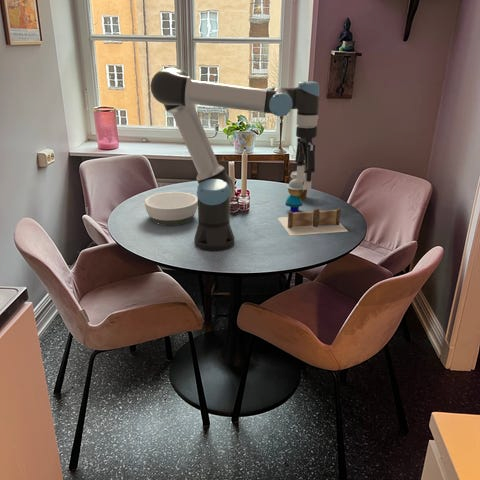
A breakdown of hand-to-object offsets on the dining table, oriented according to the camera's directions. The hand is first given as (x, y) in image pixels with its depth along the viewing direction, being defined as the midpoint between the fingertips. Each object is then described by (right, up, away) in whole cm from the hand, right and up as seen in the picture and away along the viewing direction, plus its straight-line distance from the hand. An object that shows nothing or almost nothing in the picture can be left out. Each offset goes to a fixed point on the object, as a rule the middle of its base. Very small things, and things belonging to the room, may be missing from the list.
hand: (303, 185), depth 186 cm
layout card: (+5, -15, +15) cm, 21 cm away
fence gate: (0, -15, +12) cm, 19 cm away
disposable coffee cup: (+4, -1, +48) cm, 48 cm away
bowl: (-53, -12, +22) cm, 59 cm away
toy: (0, -8, +30) cm, 31 cm away
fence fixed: (+11, -15, +14) cm, 23 cm away
